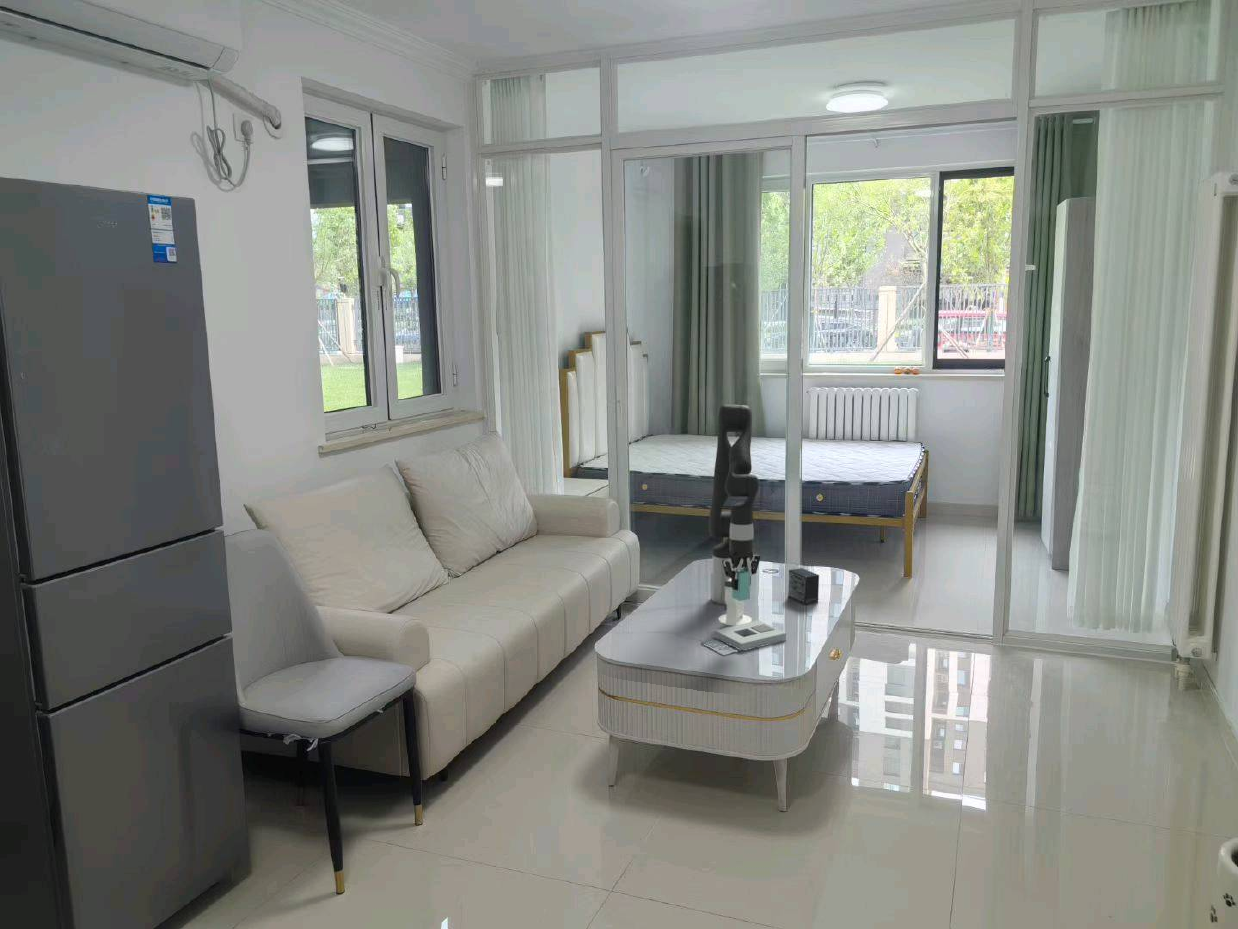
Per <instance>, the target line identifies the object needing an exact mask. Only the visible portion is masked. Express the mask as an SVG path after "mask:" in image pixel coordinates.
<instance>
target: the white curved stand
mask: <svg viewBox="0 0 1238 929" xmlns="http://www.w3.org/2000/svg"><path fill="white" fill-rule="evenodd" d="M725 586H726V588H725V592H724V596H725V603H726V604H727V605H726V604H724V610H725V611H726V614H722V615H720V616H719V617H718V622H719V623H720V624H722V625H727V626H729V627H731V626H736V625H740V624H744V623H749V622H753V619H752V617H750V616H749V615H745V614H744V609H745V608H744V604H745V600H742V601H739V600H736V599H734V598H732V587H731V578H730V579H729V580H728V581H725Z"/></svg>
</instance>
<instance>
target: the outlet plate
mask: <svg viewBox="0 0 1238 929" xmlns="http://www.w3.org/2000/svg"><path fill="white" fill-rule="evenodd" d="M714 638H715V639H717V638H718V639H717V640H719V639H720V640H722V641H724V642H726V643H728V644H731V645H733V646H735V647H737V648H739V649H740V650H745V649H749V648H753V647H757V646H761V647H763V646H762V645H765V646H767V645H766V644H769V645H772V644H776V643H781V642H784V640H785V641H787V632H785V631H783V630H781V629H779V628H776V627H774V626H772V625H771V624H768V623H766V622H763V621H761V620H754V621H753V620H752V622H749V623H744V624H740V625H736V626H729V627H728V626H727V627H724V628H718V629H715V630H714ZM720 640H719V641H720ZM722 641H721V642H722ZM780 641H781V642H780ZM724 642H723V643H724ZM726 643H725V644H726ZM728 644H727V645H728ZM757 648H758V647H757ZM753 649H754V648H753ZM740 650H739V651H740ZM749 650H750V649H749ZM745 651H746V650H745Z"/></svg>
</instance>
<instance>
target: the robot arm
mask: <svg viewBox="0 0 1238 929" xmlns="http://www.w3.org/2000/svg"><path fill="white" fill-rule="evenodd" d="M752 413H753V412H752V409H751V407H750V406H749V405H746V404H745V405H744V404H722V405H721V406H720V408H719V411H718V418H717V444H716V445H717V446H716V453H715V454H716V456H715V465H714V470H713V471H714V472H713V487H712V488H713V490H712V499H711V505H710V510H709V516H708V527H707V528H708V533H709V535H710V536H711V537H712V538H717V539H718V538H726V539H725V540H724V541H722V542H721V543H719V544H717V545H714V546H713V548H712V573H711V575H710V599H712V602H713V603H715V604H719V605H725V604H726V603H725V596H724V592H725V588H726V586H725V581H728V580H729V579H730V578H731V587H732V588H733V590H738V573H739V572H740V571H741V569H744V570H747V571H750V586H751V585H752V576H753V575H755V574H757V572H758V571H757V570H758V568H759V564H760V561H761V556H760V555H758V554H754V535H755V534H754V533H755V532H754V507H755V502H756V498H757V495H758V492H759V490H760V480H759V478H758V477H757V476H756V475H755V474H751V472H752V456H751V444H752V429H753V428H752V427H753V415H752ZM728 433H741V435H740V436H739V438H737V440H736V441H735V442H734V443H733V444H731V443H730V440H729V438H728ZM730 497H737V498H738V497H742V498H743V497H746V499H745V500H744V501H741V502H737V503H733V504H731V506H730V511H729V510H727V511H723V508H724V506H725V505H726V503H727V501H728V500H729V498H730ZM726 605H727V604H726Z"/></svg>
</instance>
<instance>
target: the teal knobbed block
mask: <svg viewBox="0 0 1238 929" xmlns="http://www.w3.org/2000/svg"><path fill="white" fill-rule="evenodd" d="M732 598H734V599H736V600H739V601H742V600H744V601H746V600H751V585H750V571H747V570H744V569H743V568H741V571H740V572H739V573H738V590H733V588H732Z"/></svg>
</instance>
